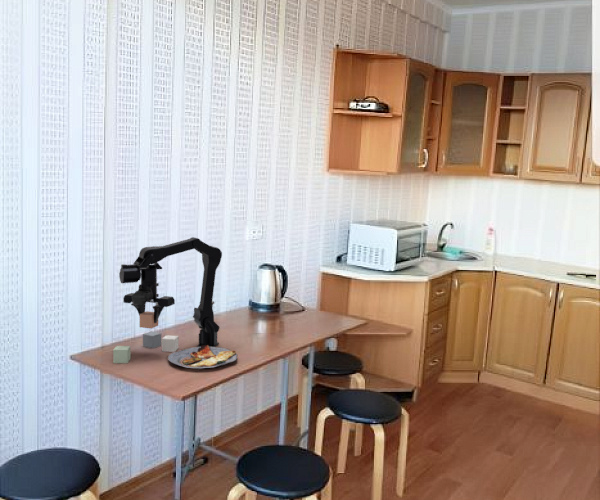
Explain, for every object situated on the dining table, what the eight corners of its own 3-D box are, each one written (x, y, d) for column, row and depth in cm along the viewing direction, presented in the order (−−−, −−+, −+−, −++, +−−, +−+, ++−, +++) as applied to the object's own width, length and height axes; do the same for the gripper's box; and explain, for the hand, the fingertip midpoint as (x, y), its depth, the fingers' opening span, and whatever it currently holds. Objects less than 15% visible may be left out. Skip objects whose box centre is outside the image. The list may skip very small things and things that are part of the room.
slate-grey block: (161, 345, 245) (161, 333, 245) (152, 348, 241) (152, 336, 240) (151, 343, 248) (151, 331, 247) (142, 346, 243) (142, 334, 243)
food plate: (207, 347, 244) (207, 338, 243) (250, 360, 229) (250, 351, 229) (155, 363, 225) (155, 353, 224) (198, 379, 210) (198, 369, 210)
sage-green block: (130, 359, 227) (130, 346, 226) (127, 363, 222) (127, 349, 221) (116, 359, 227) (116, 345, 226) (113, 363, 222) (113, 349, 221)
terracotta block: (158, 325, 235) (158, 312, 234) (151, 328, 230) (151, 315, 229) (146, 324, 236) (146, 311, 236) (139, 327, 232) (139, 314, 231)
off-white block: (178, 348, 242) (178, 336, 241) (174, 352, 237) (174, 339, 236) (165, 347, 242) (165, 335, 242) (161, 351, 238) (161, 338, 237)
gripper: (114, 283, 226) (115, 324, 228) (160, 287, 221) (160, 329, 223) (131, 278, 237) (131, 318, 239) (175, 281, 231) (175, 322, 233)
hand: (149, 322), depth 233 cm, fingers closed on terracotta block, 5 cm apart
